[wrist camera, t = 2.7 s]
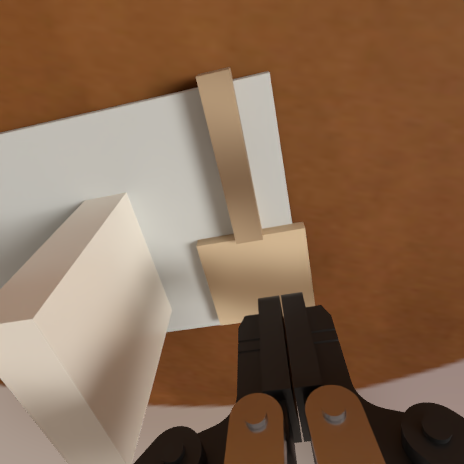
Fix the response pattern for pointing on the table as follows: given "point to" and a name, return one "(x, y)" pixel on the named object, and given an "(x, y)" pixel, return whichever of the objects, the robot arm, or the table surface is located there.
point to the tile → (86, 333)
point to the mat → (142, 182)
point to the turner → (245, 221)
